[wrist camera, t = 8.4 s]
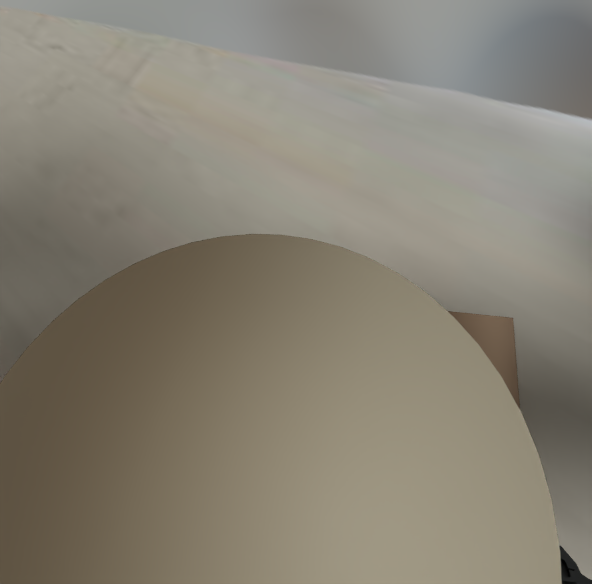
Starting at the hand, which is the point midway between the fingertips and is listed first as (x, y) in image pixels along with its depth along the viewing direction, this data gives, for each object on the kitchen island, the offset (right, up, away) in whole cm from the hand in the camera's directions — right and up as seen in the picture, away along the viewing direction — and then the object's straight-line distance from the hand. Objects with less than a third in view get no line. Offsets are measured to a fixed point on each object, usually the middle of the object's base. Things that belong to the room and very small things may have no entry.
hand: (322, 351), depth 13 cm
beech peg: (0, -5, +3) cm, 6 cm away
